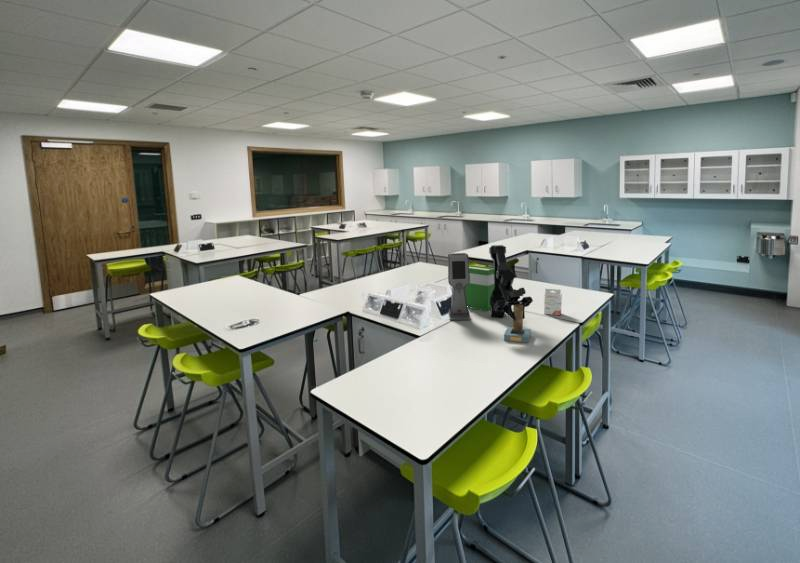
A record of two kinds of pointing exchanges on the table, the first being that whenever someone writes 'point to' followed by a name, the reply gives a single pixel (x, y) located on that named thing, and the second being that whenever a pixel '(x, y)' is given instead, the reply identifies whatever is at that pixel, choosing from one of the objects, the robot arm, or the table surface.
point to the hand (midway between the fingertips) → (519, 319)
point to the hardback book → (480, 287)
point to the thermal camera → (458, 285)
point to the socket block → (517, 335)
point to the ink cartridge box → (553, 302)
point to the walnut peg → (518, 318)
